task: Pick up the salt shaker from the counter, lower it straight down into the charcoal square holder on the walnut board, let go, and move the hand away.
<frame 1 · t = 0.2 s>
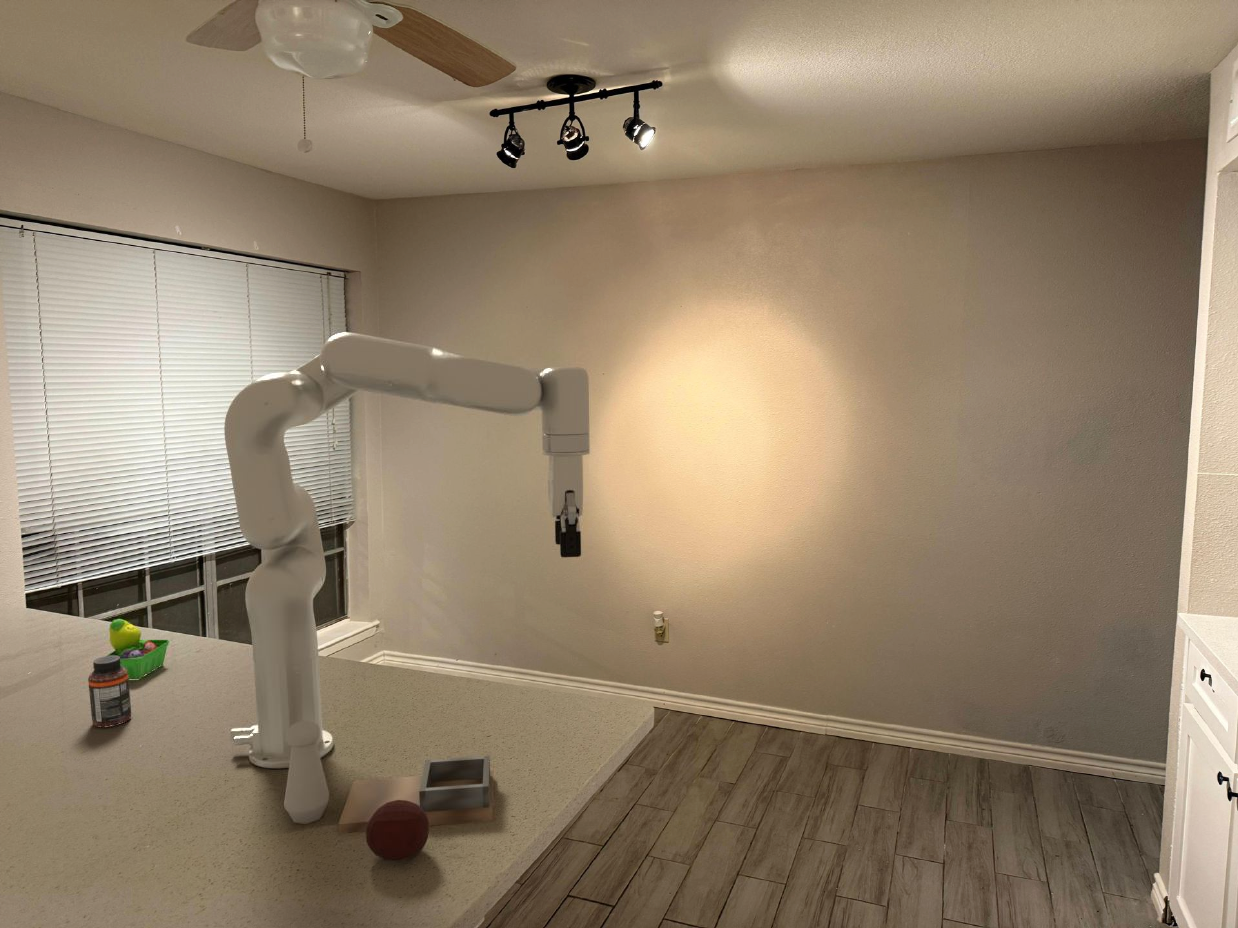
hand: (567, 550, 139), 31 cm above the countertop, tool pointing down, fingers open, 9 cm apart
supplement bottle: (112, 722, 150), on the countertop
fruit basket: (136, 674, 173), on the countertop
shaker caddy: (420, 803, 120), on the countertop
salt shaker: (307, 817, 117), on the countertop
dark red ball: (398, 857, 108), on the countertop
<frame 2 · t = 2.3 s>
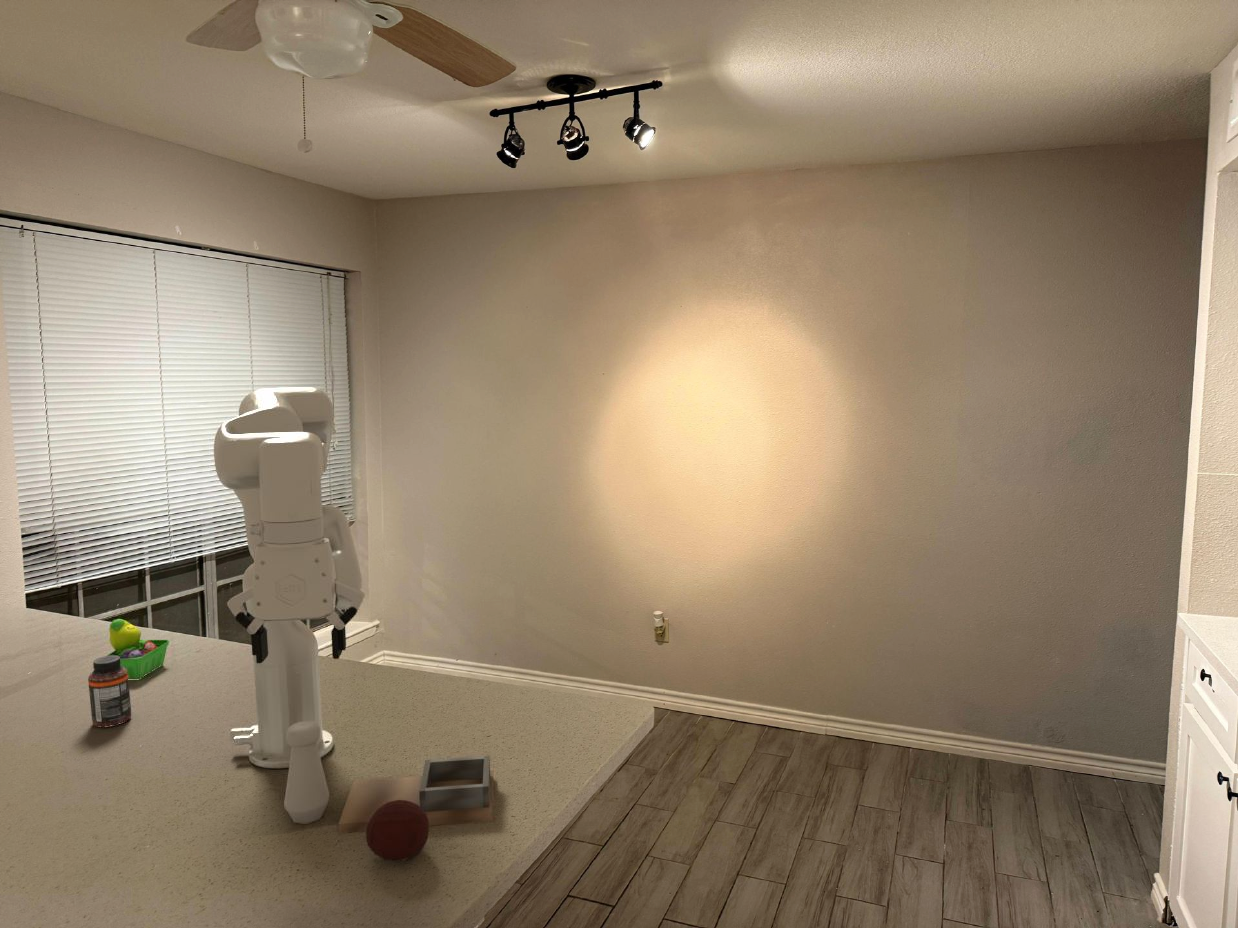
hand: (300, 657, 115), 22 cm above the countertop, tool pointing down, fingers open, 9 cm apart
nothing on the countertop moved.
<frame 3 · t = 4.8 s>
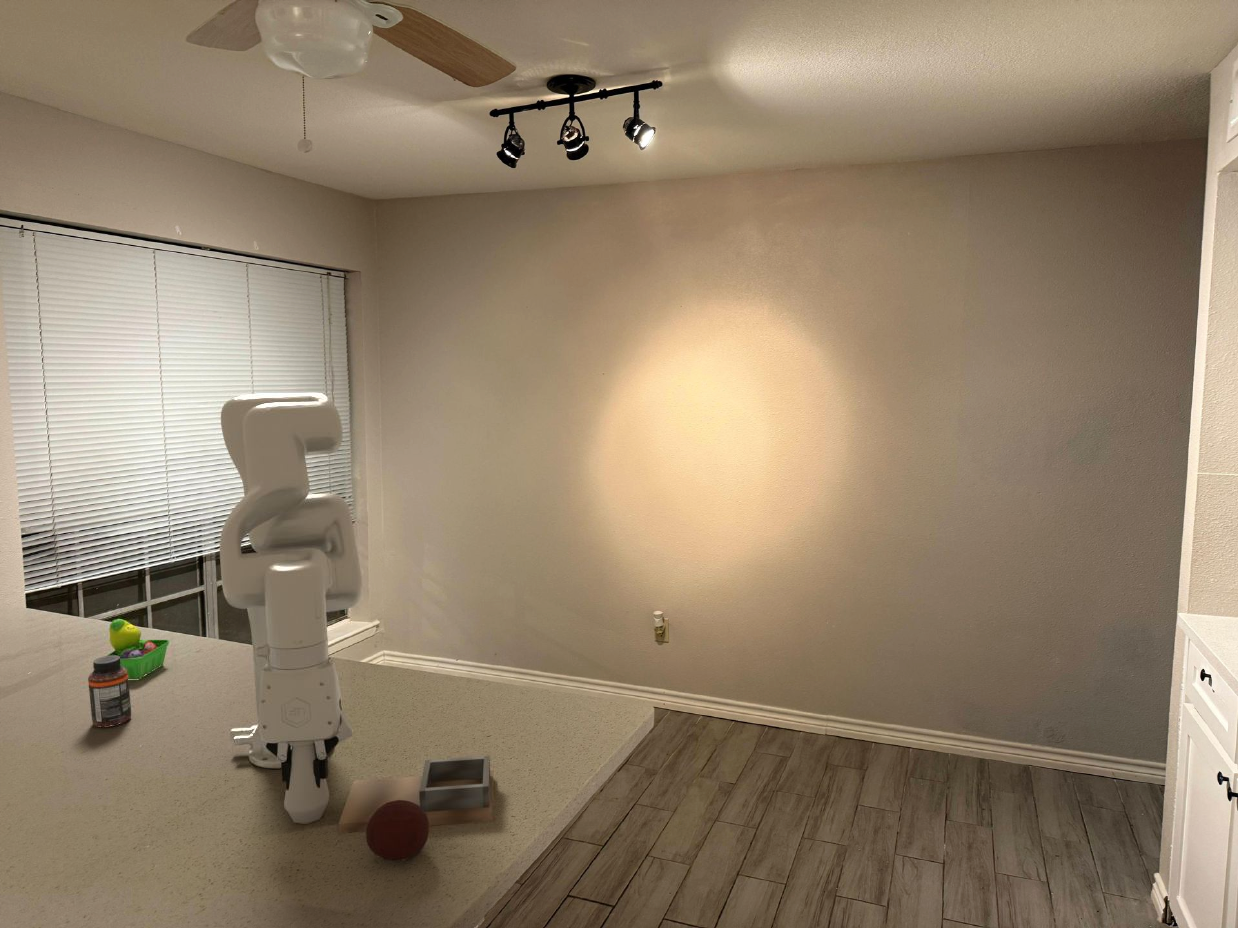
hand: (305, 783, 117), 5 cm above the countertop, tool pointing down, fingers closed on salt shaker, 3 cm apart
salt shaker: (307, 817, 117), on the countertop, touching gripper
everything else where it was.
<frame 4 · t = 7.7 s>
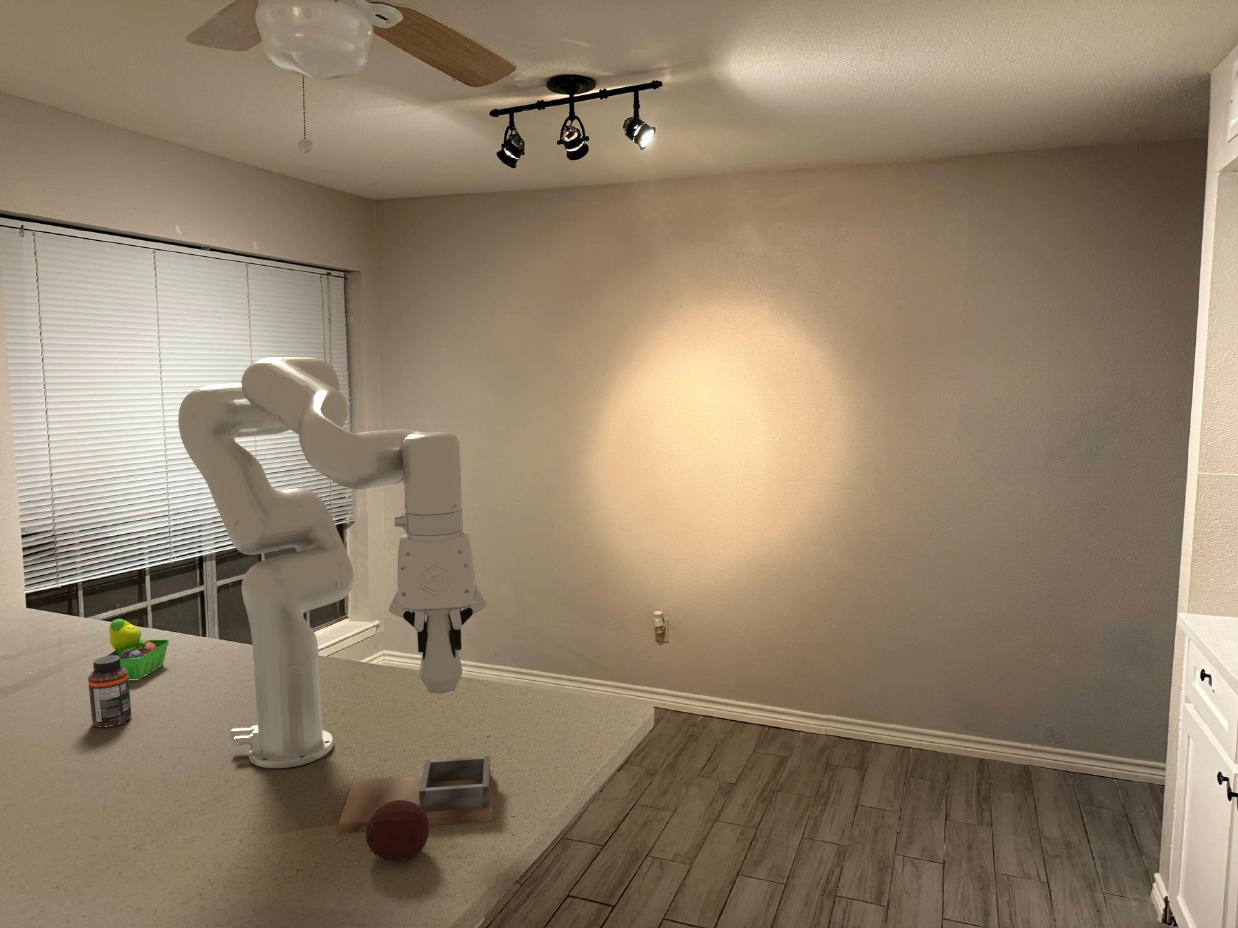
hand: (440, 654, 118), 21 cm above the countertop, tool pointing down, fingers closed on salt shaker, 3 cm apart
salt shaker: (441, 689, 118), point 17 cm above the countertop, touching gripper
everything else where it was.
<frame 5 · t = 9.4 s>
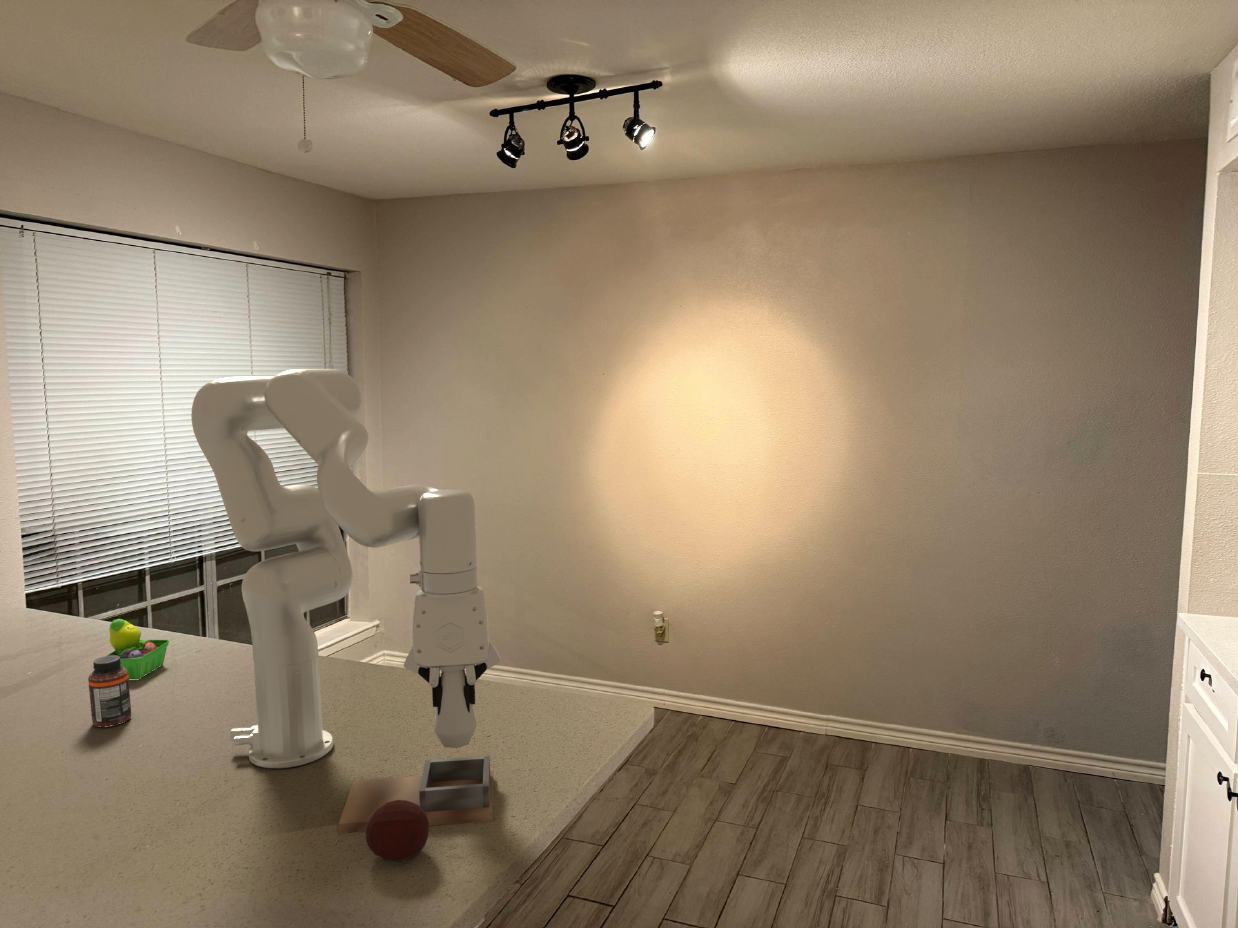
hand: (454, 709, 119), 14 cm above the countertop, tool pointing down, fingers closed on salt shaker, 3 cm apart
salt shaker: (455, 743, 120), point 9 cm above the countertop, touching gripper
everything else where it was.
when the fingers open (7 cm above the countertop, at t = 10.8 s): salt shaker drops 1 cm, resting on shaker caddy.
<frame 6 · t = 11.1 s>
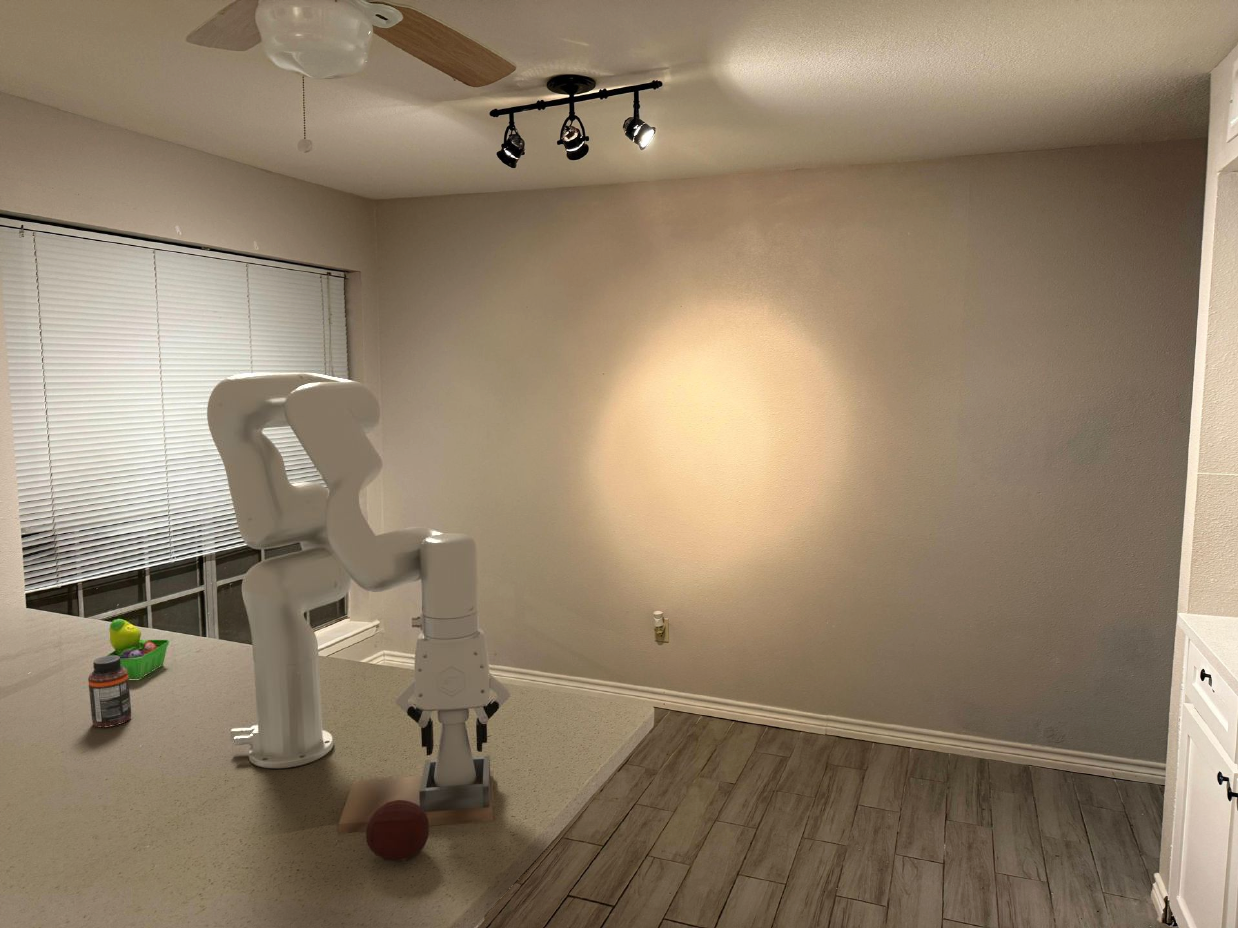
hand: (455, 748, 120), 8 cm above the countertop, tool pointing down, fingers open, 6 cm apart
salt shaker: (455, 794, 121), point 1 cm above the countertop, touching shaker caddy
everything else where it was.
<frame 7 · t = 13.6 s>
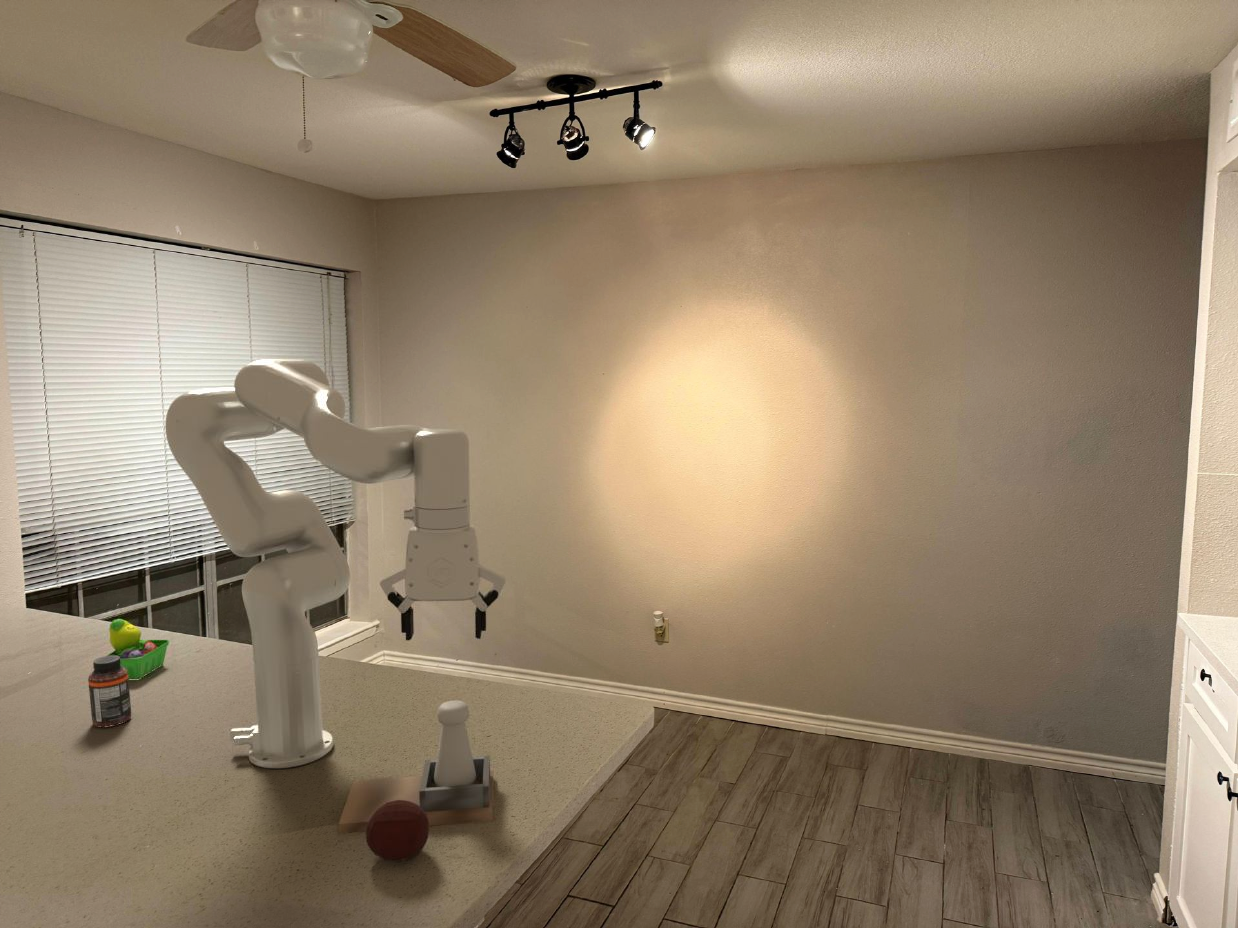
hand: (444, 636, 122), 23 cm above the countertop, tool pointing down, fingers open, 9 cm apart
nothing on the countertop moved.
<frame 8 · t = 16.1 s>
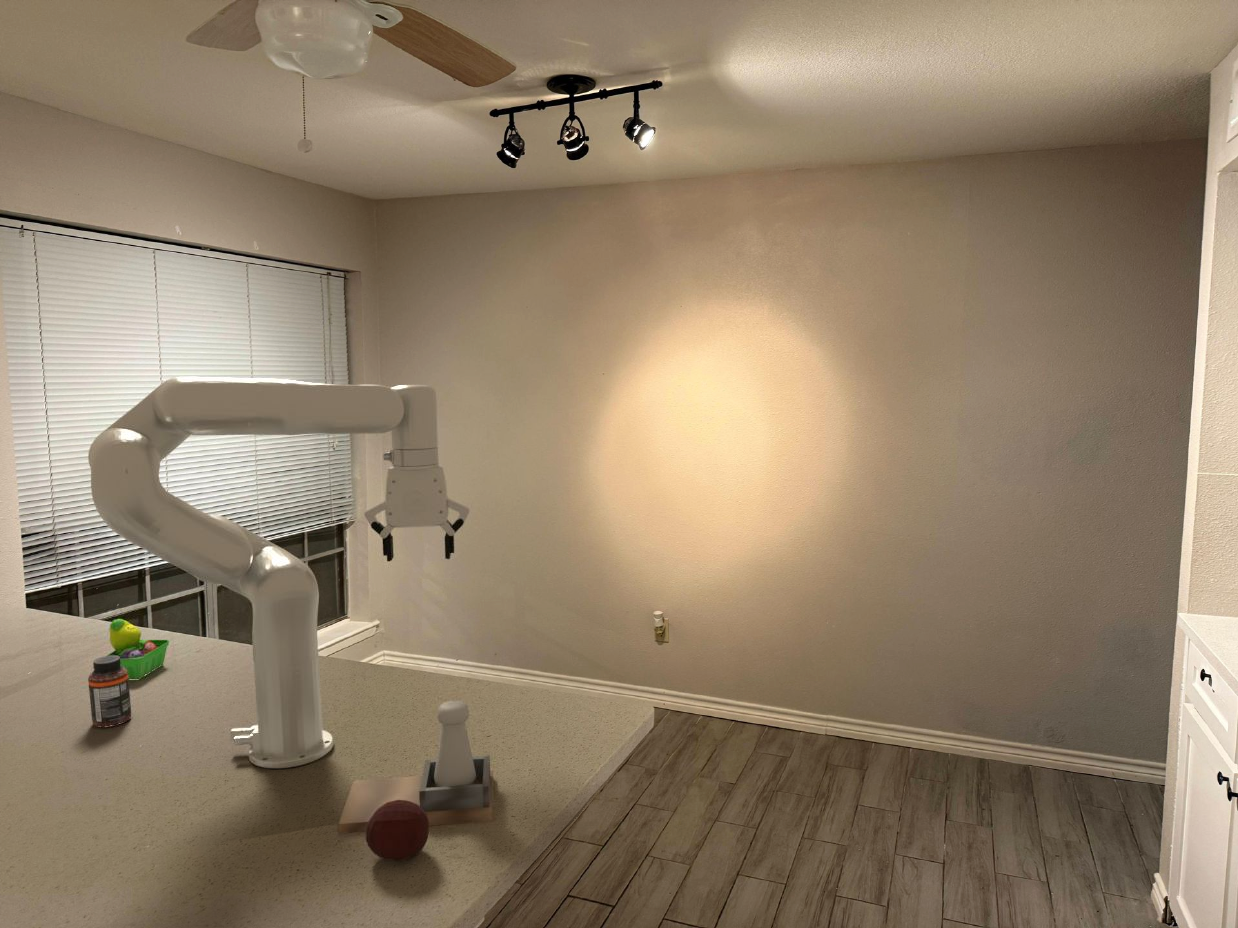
hand: (419, 558, 146), 28 cm above the countertop, tool pointing down, fingers open, 9 cm apart
nothing on the countertop moved.
at the end: salt shaker 0.1 cm from the target spot on the shaker caddy, point 1.0 cm above the shaker caddy's base; salt shaker tilted 0°; the gripper is holding nothing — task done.
